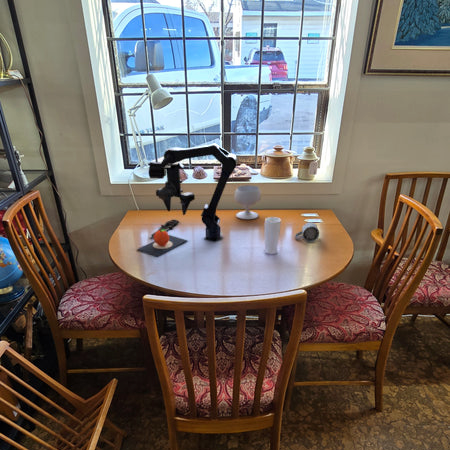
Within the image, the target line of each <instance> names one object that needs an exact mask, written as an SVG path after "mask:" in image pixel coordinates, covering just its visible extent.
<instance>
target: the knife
mask: <svg viewBox="0 0 450 450" xmlns="http://www.w3.org/2000/svg"><path fill="white" fill-rule="evenodd" d="M179 223H180V220H178V219H171V220H168V221H166V222H165V223H164V224H161V225H160V228H159V229H157V230H156V231H154V232H153V233H152V234H150V237H151V240H154V234H155V233H156V232H157V231H158V230H164V231H166V232H168V230H174V227H176V226H178V224H179Z"/></svg>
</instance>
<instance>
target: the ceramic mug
mask: <svg viewBox="0 0 450 450" xmlns="http://www.w3.org/2000/svg"><path fill="white" fill-rule="evenodd" d="M319 237H320V230H319V227H318V226H317V224H316V223H314V222H306V223H305V224H303V226H302V228H301V230H300V231H299V232H296V233H295V234H294V238H295V240H302V239H303V240H304V242H307V243H314V242H316V241H318V239H319Z"/></svg>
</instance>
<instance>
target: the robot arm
mask: <svg viewBox="0 0 450 450" xmlns="http://www.w3.org/2000/svg"><path fill="white" fill-rule="evenodd" d="M207 156H213V157H214V159H216V160H217V161H218V163H220V164H221V170H220V176H219V179H218V181H217V184H216V186H215V189H214V192H213V194H212V196H211V199H210V202H209V204H207V203H205V204H204V207H203V210H202V212H201V214H200V217H201V222H202V223H203V225H205V229H204V230H205V236H204V240H207V241H211V242H217V241H220V240H221V239H222V238H223V236H222V234H221V230H222V229H221V225H219V224H220V222H221V218H220V217H219V215H217V211H218V206H219V203H220V200H221V198H222V196H223V193H224V190H225V188H226V186H227V183H228V180H229V178H230V177H231V175H232V174H233V172H234V171H235V169H236V168H237V166H238V165H237V164H238V160H239V159H238V157H237V156H236V154H235V153H230V152H229V151H227V150H226V149H224V148H222V147H221V146H220V145H218V143H211V144H205V145H200V146H194V147H187V148H185V147H176V146H175V147H174V146H173V147H169V148H168V149H166V150H165V152H164V153H163V159H162V161H160V162H155V161H150V162H149V166H148V177H149V178H150V179H154V180H155V179H157V180H158V179H160V180H163V179H165V177H166V181H165V183H164V186H162V187H160V188H157V189H156V191H155V196H156V197H158V199H160V200H161V201H162V202H163V204H164V206H165V208H166V210H167V212H171V206H172V205H171V204H172V198H173V197H174V198H179V203H180V205H181V213H182V216H185V215H186V213H187V211H188V208H189V206H190V204H191V202H193V201H194V200H195V199H196V195H195V194H194V192H189V191H186V192H184V190H183V189H182V185H181V184H183V179H181V171H180V170H182V169H184V168H185V167H184V166H185V165H184V164H182V162H181V161H184V160H188V159H193V158H194V159H195V158H201V157H207Z"/></svg>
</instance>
